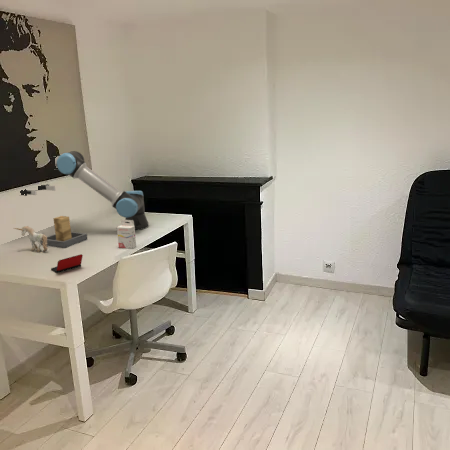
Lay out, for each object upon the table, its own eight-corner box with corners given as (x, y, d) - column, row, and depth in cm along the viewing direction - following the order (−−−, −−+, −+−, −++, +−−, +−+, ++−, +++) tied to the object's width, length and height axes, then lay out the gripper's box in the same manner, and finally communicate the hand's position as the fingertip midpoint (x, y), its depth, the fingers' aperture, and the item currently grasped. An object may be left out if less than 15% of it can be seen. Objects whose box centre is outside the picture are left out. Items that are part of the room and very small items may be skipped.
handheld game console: (74, 263, 243) (72, 249, 241) (84, 268, 235) (83, 253, 233) (50, 270, 235) (48, 255, 233) (60, 275, 227) (58, 260, 225)
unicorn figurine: (25, 247, 273) (21, 224, 270) (55, 249, 268) (52, 225, 265) (16, 251, 267) (13, 228, 263) (47, 253, 261) (44, 229, 258)
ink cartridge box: (118, 247, 265) (115, 221, 262) (123, 245, 270) (120, 219, 266) (132, 248, 262) (129, 222, 259) (136, 246, 267) (134, 220, 263)
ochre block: (72, 240, 282) (69, 216, 278) (64, 243, 277) (61, 219, 273) (64, 239, 284) (61, 215, 281) (56, 242, 279) (53, 218, 276)
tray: (87, 239, 284) (86, 233, 283) (64, 248, 269) (63, 242, 268) (64, 236, 292) (64, 231, 292) (41, 244, 277) (40, 239, 276)
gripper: (37, 191, 299) (62, 192, 289) (2, 199, 278) (28, 201, 268) (35, 178, 297) (61, 180, 287) (0, 186, 276) (26, 187, 266)
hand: (45, 190), depth 278 cm, fingers open, 13 cm apart
